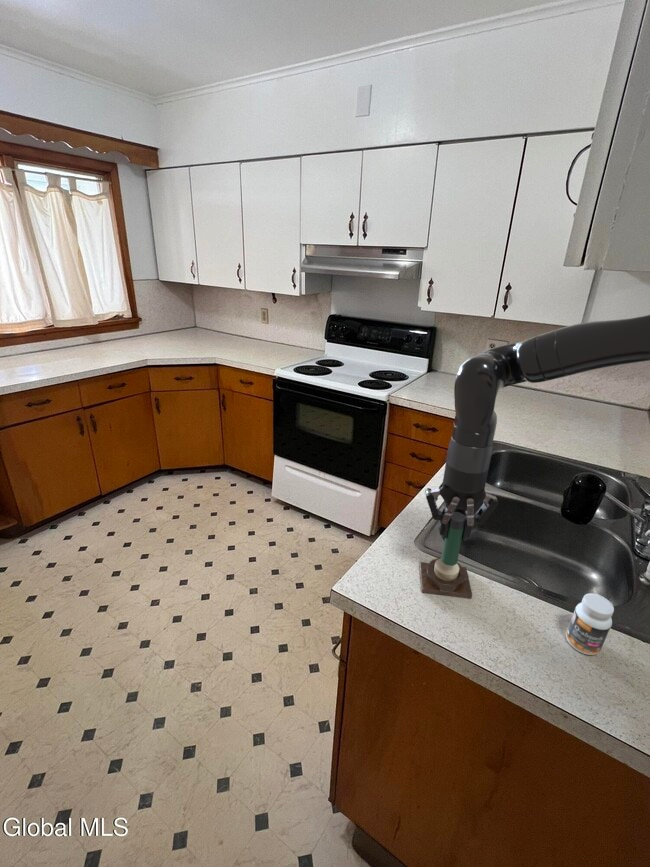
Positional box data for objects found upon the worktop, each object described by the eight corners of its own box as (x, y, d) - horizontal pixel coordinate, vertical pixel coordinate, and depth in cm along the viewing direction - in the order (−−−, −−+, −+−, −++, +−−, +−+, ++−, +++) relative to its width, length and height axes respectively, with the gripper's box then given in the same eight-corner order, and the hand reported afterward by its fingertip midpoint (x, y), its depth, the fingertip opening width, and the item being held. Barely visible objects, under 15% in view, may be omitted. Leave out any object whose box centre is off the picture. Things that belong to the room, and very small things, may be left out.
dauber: (456, 555, 88) (464, 512, 84) (458, 566, 86) (467, 522, 81) (440, 554, 89) (447, 510, 84) (442, 564, 86) (449, 520, 81)
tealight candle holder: (465, 571, 94) (467, 560, 93) (471, 599, 87) (473, 588, 85) (419, 565, 95) (421, 555, 94) (421, 593, 88) (423, 582, 87)
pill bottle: (565, 649, 77) (580, 609, 72) (564, 625, 81) (578, 586, 77) (601, 661, 74) (619, 621, 70) (598, 636, 79) (615, 597, 75)
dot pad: (456, 565, 92) (457, 559, 91) (459, 582, 87) (461, 576, 87) (432, 563, 92) (433, 556, 92) (434, 579, 88) (436, 573, 87)
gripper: (430, 468, 75) (418, 545, 82) (513, 475, 73) (494, 553, 81) (426, 448, 81) (416, 521, 89) (503, 454, 80) (486, 528, 87)
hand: (453, 536), depth 85 cm, fingers closed on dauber, 3 cm apart
